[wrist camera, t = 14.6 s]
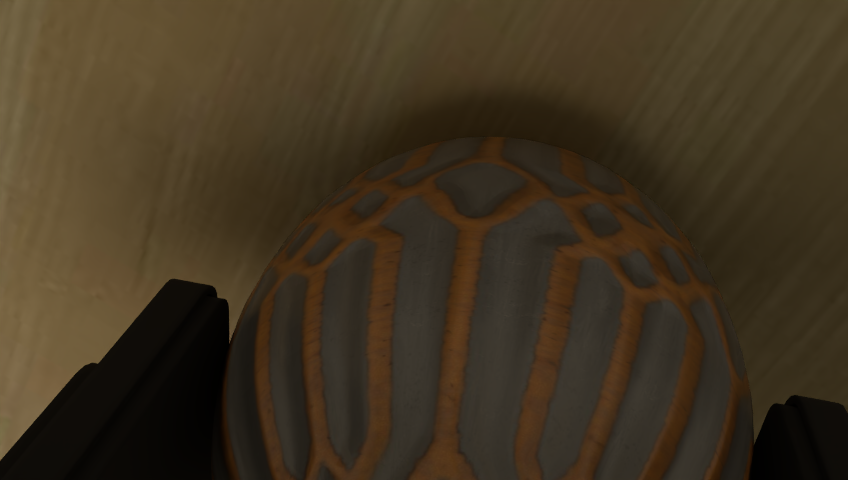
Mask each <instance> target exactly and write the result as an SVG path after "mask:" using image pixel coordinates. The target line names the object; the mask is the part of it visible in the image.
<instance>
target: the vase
mask: <svg viewBox="0 0 848 480" xmlns="http://www.w3.org/2000/svg"><path fill="white" fill-rule="evenodd" d="M753 451H754V429H753V410H752V400H751V392H750V387H749V382H748V378H747V373H746V368H745V364H744V359H743V355H742V351H741V348H740V345H739V341H738V338H737V335H736V332H735V329H734V327H733V324H732V321H731V318H730V315H729V312H728V310H727V308H726V305H725V303H724V301H723V298H722V296H721V294H720V292H719V290H718V288H717V286H716V284H715V281H714V279H713V277H712V275H711V274H710V272H709V270H708V268H707V266H706V265H705V263H704V261H703V260H702V258H701V257H700V255H699V254H698V252H697V251H696V249H695V248H694V246H693V245H692V244H691V243H690V241H689V240H688V239H687V238H686V236H685V235H684V234H683V233H682V232H681V230H680V229H679V228H678V227H677V226H676V224H675V223H674V222H673V221H672V220H671V218H670V217H669V216H668V215H667V214H666V213H665V212H664V211H663V210H662V209H661V208H660V207H659V206H658V205H657V204H655V203H654V202H653V201H652V200H651V199H650V198H649V197H647V196H646V195H645V194H644V193H642V192H641V191H640V190H638V189H637V188H636V187H634V186H633V185H632V184H630V183H629V182H628V181H626V180H625V179H624V178H622V177H621V176H619V175H618V174H616V173H614V172H613V171H611V170H610V169H608V168H606V167H604V166H602V165H600V164H599V163H597V162H595V161H593V160H591V159H589V158H586V157H584V156H582V155H579V154H577V153H574V152H571V151H569V150H566V149H563V148H560V147H556V146H553V145H549V144H545V143H541V142H536V141H531V140H525V139H517V138H508V137H469V138H460V139H452V140H447V141H442V142H437V143H433V144H429V145H426V146H422V147H419V148H416V149H413V150H411V151H408V152H405V153H402V154H399V155H397V156H394V157H392V158H389V159H387V160H385V161H383V162H381V163H378V164H377V165H375V166H373V167H371V168H369V169H368V170H366V171H364V172H363V173H361V174H359V175H358V176H356V177H355V178H353V179H352V180H350V181H349V182H347V183H346V184H344V185H343V186H341V187H340V188H338V189H337V190H336V191H334V192H333V193H332V194H331V195H329V196H328V197H327V198H326V199H324V200H323V201H322V202H321V203H320V204H319V205H318V206H317V207H316V208H315V209H314V210H313V211H312V212H311V213H310V214H309V215H308V216H307V217H306V218H305V219H304V220H303V222H302V223H301V224H300V225H299V226H298V227H297V228H296V229H295V231H294V232H293V233H292V234H291V235H290V236H289V238H288V239H287V240H286V241H285V243H284V244H283V245H282V247H281V248H280V249H279V251H278V252H277V254H276V255H275V256H274V258H273V259H272V261H271V262H270V263H269V265H268V266H267V268H266V269H265V270H264V272H263V274H262V276H261V277H260V279H259V281H258V283H257V284H256V286H255V288H254V290H253V291H252V293H251V295H250V297H249V299H248V300H247V302H246V304H245V306H244V308H243V310H242V313H241V315H240V317H239V320H238V322H237V325H236V328H235V330H234V333H233V336H232V338H231V341H230V344H229V348H228V351H227V354H226V358H225V362H224V366H223V370H222V374H221V379H220V383H219V388H218V394H217V400H216V406H215V413H214V422H213V433H212V448H211V470H212V480H751V476H752V464H753Z"/></svg>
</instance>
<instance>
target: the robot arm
mask: <svg viewBox="0 0 848 480" xmlns="http://www.w3.org/2000/svg"><path fill="white" fill-rule="evenodd" d="M228 348H229V306H228V302H227V300H225V299H221V298H217V292H216V289H215V288H214V287H213V286H210V285H205V284H200V283H194V282H189V281H184V280H178V279H171V280H169V281H168V282H167V283H166V284H165V285H164V286H163V287H162V289H161V290H160V291H159V292H158V293H157V294H156V296H155V297H154V298H153V299H152V300H151V302H150V303H149V304H148V305H147V306H146V308H145V309H144V310H143V311H142V312H141V314H140V315H139V316H138V317H137V318H136V319H135V321H134V322H133V323H132V324H131V325H130V327H129V328H128V329H127V330H126V331H125V333H124V334H123V335H122V336H121V337H120V338H119V340H118V341H117V342H116V343H115V344H114V346H113V347H112V348H111V349H110V350H109V352H108V353H107V354H106V355H105V356H104V358H103V359H102V360H101V361H100V362H99V363H98V364H96V363H90V364H88V365H85V366H84V367H83V368H81V369H80V370H79V371H78V372H77V373H76V374H75V375H74V376H73V377H72V379H71V380H70V381H69V382H68V383H67V384H66V386H65V387H64V388H63V389H62V390H61V391H60V392H59V394H58V395H57V396H56V397H55V398H54V399H53V401H52V402H51V403H50V404H49V405H48V406H47V407H46V409H45V410H44V411H43V412H42V413H41V414H40V416H39V417H38V418H37V419H36V420H35V421H34V422H33V424H32V425H31V426H30V427H29V428H28V429H27V431H26V432H25V433H24V434H23V435H22V436H21V438H20V439H19V440H18V441H17V442H16V443H15V444H14V446H13V447H12V448H11V449H10V450H9V451H8V453H7V454H6V455H5V456H4V457H3V458H2V459H1V461H0V480H212V470H211V448H212V433H213V422H214V413H215V406H216V400H217V394H218V388H219V383H220V379H221V374H222V370H223V366H224V362H225V358H226V354H227V351H228ZM751 480H848V413H847V411H846V409H845V408H844V406H843V405H841V404H839V403H835V402H830V401H824V400H819V399H814V398H808V397H803V396H798V395H793V396H791V397H790V398H789V399H788V400H787V401H786V403H785V405H783V404H778V403H775V404H773V405H772V406H771V407H770V409H769V411H768V413H767V415H766V418H765V420H764V423H763V425H762V427H761V430H760V432H759V435H758V437H757V439H756V442H755V444H754V451H753V464H752V476H751Z"/></svg>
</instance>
